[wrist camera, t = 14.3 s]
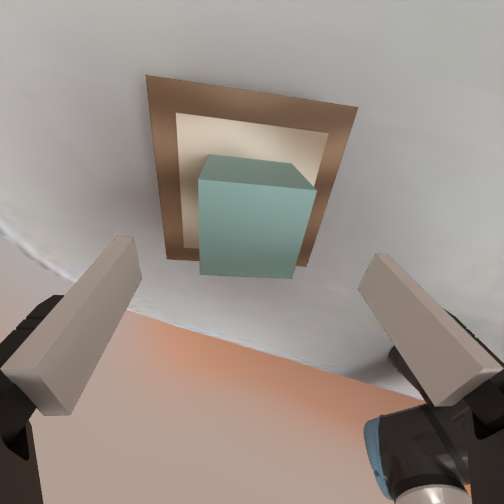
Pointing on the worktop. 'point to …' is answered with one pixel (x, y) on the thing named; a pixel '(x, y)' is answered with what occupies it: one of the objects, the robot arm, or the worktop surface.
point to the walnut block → (238, 147)
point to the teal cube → (252, 217)
